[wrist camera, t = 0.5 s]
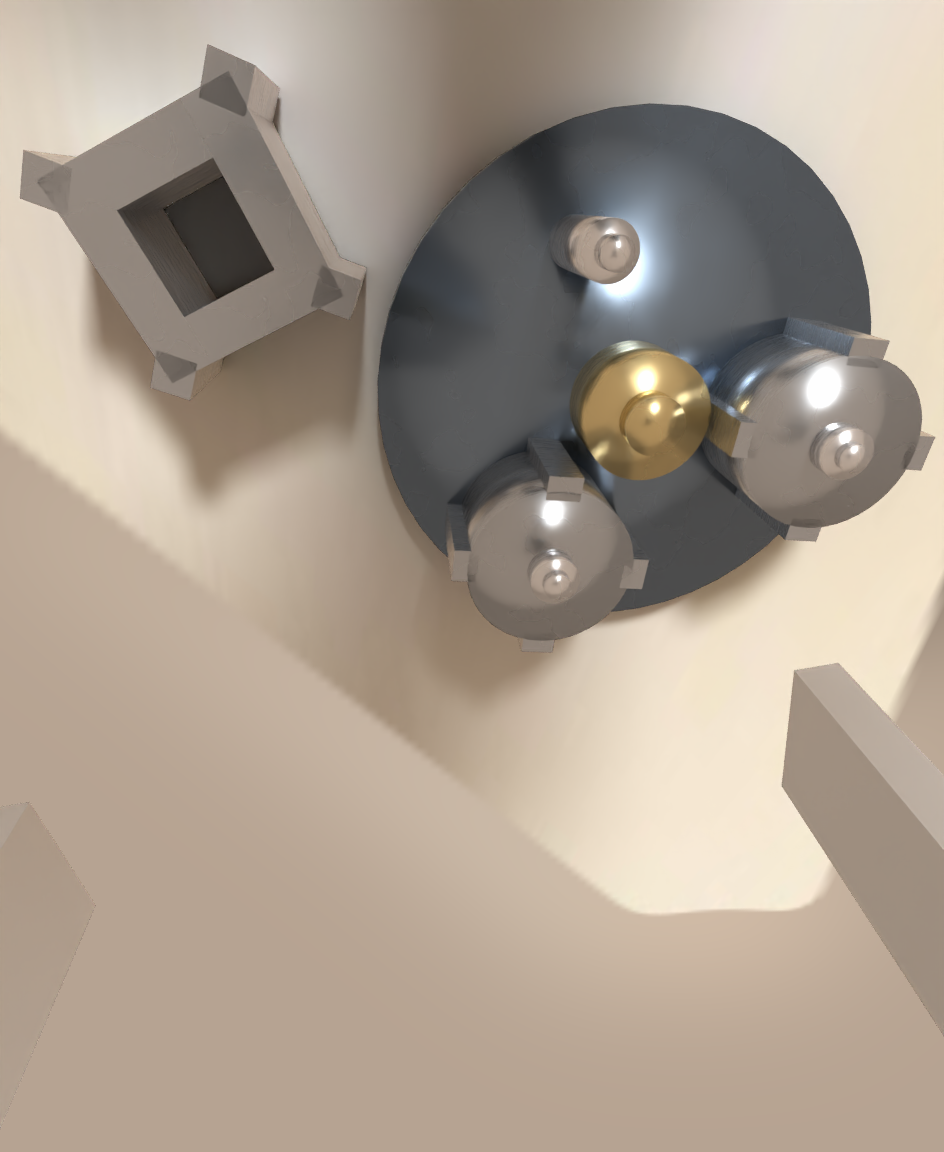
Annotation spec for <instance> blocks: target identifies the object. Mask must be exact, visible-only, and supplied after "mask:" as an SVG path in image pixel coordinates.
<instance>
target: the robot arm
mask: <svg viewBox="0 0 944 1152" xmlns="http://www.w3.org/2000/svg"><path fill="white" fill-rule="evenodd" d="M782 787H783V789H784V790H785V792H786V793H787V795H788V796H789V798H790V800H791V801H792V803H793V804H794V806H795V807H796V809H797V810H798V812H799V813H800V815H801V817H802V818H803V820H804V821H805V823H806V824H807V826H808V827H809V829H810V830H811V832H812V833H813V835H814V837H815V838H816V840H817V841H818V843H819V844H820V846H821V847H822V849H823V850H824V852H825V854H826V855H827V857H828V858H829V860H830V861H831V863H832V864H833V866H834V867H835V869H836V871H837V872H838V874H839V875H840V877H841V878H842V880H843V881H844V883H845V884H846V886H847V887H848V889H849V891H850V892H851V894H852V895H853V897H854V898H855V900H856V901H857V903H858V904H859V906H860V908H861V909H862V911H863V912H864V914H865V915H866V917H867V918H868V920H869V921H870V923H871V924H872V926H873V928H874V929H875V931H876V932H877V934H878V935H879V937H880V938H881V940H882V941H883V943H884V945H885V946H886V948H887V949H888V951H889V952H890V954H891V955H892V957H893V958H894V960H895V962H896V963H897V965H898V966H899V967H900V969H901V971H902V972H903V974H904V975H905V977H906V978H907V980H908V982H909V983H910V985H911V986H912V988H913V989H914V991H915V992H916V994H917V995H918V997H919V999H920V1000H921V1002H922V1003H923V1005H924V1006H925V1008H926V1009H927V1011H928V1012H929V1014H930V1016H931V1017H932V1019H933V1020H934V1022H935V1023H936V1024H937V1026H938V1028H939V1029H940V1031H941V1032H942V1034H943V1036H944V775H943V774H942V773H941V772H940V771H939V770H938V768H937V767H936V766H935V765H934V764H933V763H932V762H931V761H930V760H929V759H928V758H927V757H926V756H925V755H924V754H923V752H922V751H921V750H920V749H919V748H918V747H917V746H916V745H915V744H914V743H913V742H912V741H911V740H910V739H909V738H908V737H907V735H906V734H905V733H904V732H903V731H902V730H901V729H900V728H899V727H898V726H897V725H896V724H895V723H894V722H893V721H892V720H891V718H890V717H889V716H888V715H887V714H886V713H885V712H884V711H883V710H882V709H881V708H880V707H879V706H878V705H877V704H876V702H875V701H874V700H873V699H872V698H871V697H870V696H869V695H868V694H867V693H866V692H865V691H864V690H863V689H862V688H861V687H860V685H859V684H858V683H857V682H856V681H855V680H854V679H853V678H852V677H851V676H850V675H849V674H848V673H847V672H846V671H845V670H844V668H843V667H842V666H841V665H840V664H839V663H834V664H829V665H823V666H817V667H811V668H805V669H799V670H794V677H793V686H792V695H791V705H790V714H789V723H788V732H787V741H786V751H785V760H784V769H783V778H782ZM95 906H96V905H95V903H94V902H93V900H92V899H91V897H90V896H89V894H88V892H87V891H86V889H85V888H84V886H83V885H82V883H81V882H80V880H79V878H78V877H77V875H76V874H75V872H74V871H73V869H72V867H71V866H70V864H69V863H68V861H67V860H66V858H65V857H64V855H63V853H62V852H61V850H60V849H59V847H58V846H57V844H56V843H55V841H54V839H53V838H52V836H51V835H50V833H49V832H48V830H47V829H46V827H45V825H44V824H43V822H42V821H41V819H40V818H39V816H38V815H37V813H36V811H35V810H34V808H33V807H32V805H31V804H30V802H26V803H20V804H15V805H9V806H3V807H0V1128H1V1125H2V1123H3V1121H4V1118H5V1116H6V1114H7V1111H8V1109H9V1107H10V1104H11V1102H12V1100H13V1097H14V1095H15V1093H16V1090H17V1088H18V1086H19V1083H20V1081H21V1079H22V1076H23V1074H24V1072H25V1069H26V1067H27V1065H28V1062H29V1060H30V1058H31V1055H32V1053H33V1050H34V1048H35V1046H36V1044H37V1041H38V1039H39V1037H40V1034H41V1032H42V1030H43V1027H44V1025H45V1023H46V1020H47V1018H48V1016H49V1013H50V1011H51V1008H52V1006H53V1004H54V1002H55V999H56V997H57V995H58V992H59V990H60V988H61V985H62V983H63V981H64V978H65V976H66V974H67V971H68V969H69V967H70V964H71V962H72V959H73V957H74V955H75V953H76V950H77V948H78V945H79V943H80V941H81V939H82V936H83V934H84V932H85V929H86V927H87V925H88V922H89V920H90V918H91V915H92V913H93V911H94V908H95Z"/></svg>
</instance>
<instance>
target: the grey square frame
mask: <svg viewBox="0 0 944 1152" xmlns="http://www.w3.org/2000/svg"><path fill="white" fill-rule="evenodd" d="M279 91H280V88H279V87H278V86H277V85H276V84H274V83H273V82H272V81H271V80H270V79H269V78H268V77H267V76H266V75H265V74H264V73H263V72H262V71H261V70H259V69H258V68H257V67H256V66H255V65H253V64H251V63H249V62H246V61H244V60H242V59H240V58H237V57H235V56H233V55H231V54H228V53H226V52H224V51H222V50H219V49H217V48H215V47H213V46H211V45H207V51H206V57H205V63H204V69H203V75H202V81H201V87H199V88H197V89H196V90H194V91H192V92H190V93H189V94H187V95H185V96H183V97H182V98H180V99H178V100H176V101H174V102H173V103H171V104H169V105H167V106H166V107H164V108H162V109H160V110H159V111H157V112H155V113H153V114H152V115H150V116H148V117H146V118H144V119H143V120H141V121H139V122H137V123H136V124H134V125H132V126H130V127H129V128H127V129H125V130H123V131H122V132H120V133H118V134H116V135H114V136H113V137H111V138H109V139H107V140H106V141H104V142H102V143H100V144H99V145H97V146H95V147H93V148H92V149H90V150H88V151H86V152H84V153H83V154H81V155H79V156H77V157H73V156H65V155H58V154H50V153H42V152H35V151H27V150H23V163H22V176H21V190H20V199H23V200H26V201H29V202H31V203H34V204H37V205H39V206H42V207H45V208H47V209H50V210H53V211H56V212H58V213H59V215H60V216H61V218H62V219H63V221H64V222H65V224H66V225H67V227H68V228H69V230H70V231H71V233H72V234H73V236H74V237H75V239H76V240H77V242H78V243H79V245H80V246H81V248H82V249H83V251H84V252H85V254H86V255H87V257H88V258H89V260H90V261H91V263H92V264H93V266H94V267H95V269H96V270H97V272H98V273H99V275H100V276H101V278H102V279H103V281H104V282H105V284H106V285H107V287H108V288H109V290H110V291H111V293H112V294H113V295H114V297H115V298H116V300H117V301H118V303H119V304H120V306H121V307H122V309H123V310H124V312H125V313H126V315H127V316H128V318H129V319H130V321H131V322H132V324H133V325H134V327H135V328H136V330H137V331H138V333H139V334H140V336H141V337H142V339H143V340H144V342H145V343H146V345H147V346H148V348H149V349H150V351H151V352H152V354H153V355H154V357H155V362H154V368H153V374H152V380H151V386H150V388H153V389H156V390H159V391H162V392H165V393H168V394H171V395H174V396H178V397H181V398H184V399H187V400H191V399H192V398H193V397H194V396H195V395H196V394H197V393H199V392H200V391H201V390H202V389H203V388H204V387H205V386H206V385H207V384H208V383H209V382H210V381H211V380H212V379H213V378H214V377H215V376H216V375H217V374H218V373H219V372H220V371H221V368H222V363H223V358H224V357H225V356H227V355H229V354H231V353H233V352H235V351H237V350H239V349H241V348H243V347H245V346H246V345H248V344H250V343H252V342H254V341H256V340H258V339H260V338H262V337H264V336H266V335H268V334H270V333H272V332H274V331H276V330H278V329H280V328H282V327H284V326H286V325H288V324H290V323H292V322H294V321H296V320H298V319H300V318H301V317H303V316H305V315H307V314H309V313H311V312H313V311H315V310H317V309H321V310H323V311H326V312H329V313H331V314H334V315H337V316H339V317H342V318H345V319H348V320H350V318H351V316H352V313H353V311H354V308H355V306H356V303H357V300H358V297H359V293H360V290H361V286H362V283H363V279H364V276H365V272H366V269H367V268H366V267H363V266H361V265H358V264H356V263H353V262H351V261H348V260H346V259H343V258H340V256H339V254H338V252H337V250H336V248H335V246H334V244H333V242H332V240H331V238H330V236H329V234H328V232H327V230H326V228H325V226H324V224H323V222H322V220H321V218H320V216H319V214H318V212H317V210H316V208H315V206H314V204H313V202H312V200H311V198H310V196H309V194H308V192H307V190H306V188H305V186H304V184H303V182H302V180H301V178H300V176H299V174H298V172H297V170H296V168H295V166H294V164H293V162H292V160H291V158H290V156H289V154H288V152H287V150H286V148H285V146H284V144H283V142H282V140H281V138H280V136H279V134H278V132H277V130H276V128H275V126H274V124H273V119H274V115H275V110H276V105H277V100H278V95H279ZM222 176H223V177H224V178H225V180H226V182H227V184H228V186H229V188H230V189H231V191H232V193H233V195H234V197H235V199H236V200H237V202H238V204H239V206H240V208H241V209H242V211H243V213H244V215H245V217H246V219H247V220H248V222H249V224H250V226H251V228H252V230H253V231H254V233H255V235H256V237H257V239H258V241H259V242H260V244H261V246H262V248H263V250H264V251H265V253H266V255H267V257H268V259H269V261H270V262H271V264H272V266H273V268H274V270H272V271H270V272H268V273H266V274H264V275H263V276H261V277H259V278H257V279H255V280H253V281H251V282H249V283H247V284H245V285H243V286H241V287H240V288H238V289H236V290H234V291H232V292H230V293H228V294H226V295H224V296H222V297H220V298H218V299H217V298H216V296H215V295H214V293H213V291H212V290H211V288H210V286H209V285H208V283H207V281H206V280H205V278H204V276H203V275H202V273H201V271H200V270H199V268H198V266H197V265H196V263H195V261H194V260H193V258H192V256H191V255H190V253H189V251H188V250H187V248H186V246H185V245H184V243H183V241H182V240H181V238H180V236H179V235H178V233H177V231H176V230H175V228H174V226H173V225H172V223H171V221H170V219H169V218H168V216H167V214H166V213H165V211H164V209H163V208H165V207H167V206H169V205H171V204H172V203H174V202H176V201H178V200H180V199H182V198H183V197H185V196H187V195H189V194H191V193H193V192H194V191H196V190H198V189H200V188H202V187H204V186H205V185H207V184H209V183H211V182H213V181H215V180H216V179H218V178H220V177H222Z"/></svg>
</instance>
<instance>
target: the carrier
mask: <svg viewBox="0 0 944 1152" xmlns="http://www.w3.org/2000/svg"><path fill="white" fill-rule="evenodd" d="M888 344H889V341H888V340H885V339H881V338H878V337H875V336H871V314H870V301H869V289H868V284H867V280H866V275H865V271H864V266H863V261H862V257H861V254H860V251H859V249H858V246H857V243H856V241H855V238H854V235H853V233H852V230H851V227H850V225H849V223H848V221H847V220H846V218H845V216H844V214H843V212H842V211H841V209H840V207H839V205H838V204H837V202H836V200H835V198H834V196H833V195H832V194H831V193H830V191H829V190H828V189H827V188H826V186H825V185H824V184H823V182H822V181H821V180H820V179H819V177H818V176H817V175H816V174H815V172H814V171H813V170H812V169H811V168H810V167H809V166H808V165H807V164H806V163H804V162H803V161H802V160H801V159H800V158H799V157H798V156H797V155H796V154H794V153H793V152H792V151H791V150H790V149H789V148H788V147H787V146H785V145H784V144H782V143H780V142H779V141H777V140H776V139H774V138H773V137H771V136H769V135H768V134H766V133H765V132H763V131H761V130H760V129H758V128H757V127H754V126H752V125H749V124H747V123H745V122H742V121H740V120H737V119H735V118H732V117H730V116H728V115H725V114H722V113H718V112H713V111H709V110H704V109H700V108H695V107H691V106H683V105H665V104H642V105H633V106H623V107H614V108H609V109H605V110H601V111H597V112H594V113H590V114H586V115H582V116H579V117H575V118H572V119H570V120H567V121H565V122H563V123H560V124H558V125H556V126H553V127H551V128H549V129H547V130H544V131H542V132H540V133H537V134H535V135H533V136H531V137H529V138H528V139H526V140H525V141H523V142H521V143H520V144H518V145H516V146H515V147H513V148H512V149H510V150H508V151H507V152H505V153H503V154H502V155H500V156H498V157H497V158H496V159H495V160H494V161H492V162H491V163H490V164H489V165H488V166H486V167H485V168H484V169H483V170H481V171H480V172H479V173H478V174H477V175H475V176H474V177H473V178H472V179H471V180H469V181H468V182H467V183H466V184H465V185H464V186H463V188H462V189H461V190H460V191H459V192H458V193H457V194H456V195H455V196H454V197H453V198H452V199H451V201H450V202H449V203H448V204H447V205H446V206H445V207H444V208H443V209H442V210H441V212H440V213H439V215H438V216H437V217H436V219H435V220H434V222H433V223H432V225H431V226H430V227H429V229H428V230H427V232H426V233H425V234H424V236H423V237H422V239H421V240H420V242H419V244H418V246H417V247H416V249H415V251H414V253H413V255H412V257H411V259H410V261H409V262H408V264H407V266H406V268H405V270H404V272H403V274H402V277H401V279H400V282H399V285H398V287H397V290H396V293H395V295H394V298H393V301H392V303H391V306H390V309H389V314H388V318H387V322H386V326H385V331H384V335H383V339H382V345H381V355H380V365H379V374H378V405H379V419H380V425H381V432H382V438H383V444H384V448H385V452H386V455H387V458H388V462H389V465H390V468H391V471H392V475H393V477H394V480H395V482H396V484H397V486H398V488H399V490H400V493H401V495H402V497H403V499H404V501H405V504H406V505H407V507H408V508H409V510H410V511H411V513H412V514H413V516H414V518H415V519H416V521H417V522H418V524H419V525H420V527H421V528H422V530H423V531H424V532H425V533H426V534H427V536H428V537H429V538H430V539H431V540H432V541H433V543H434V544H435V545H436V546H437V547H438V548H439V550H441V551H442V552H443V553H444V554H445V555H446V556H447V557H448V559H449V566H450V573H451V580H452V581H466V582H468V587H469V590H470V594H471V597H472V599H473V601H474V603H475V605H476V607H477V608H478V610H479V611H480V613H481V614H482V615H483V616H484V617H485V618H486V619H487V620H488V621H489V622H490V623H491V624H492V625H494V626H495V627H497V628H498V629H500V630H501V631H503V632H505V633H507V634H510V635H512V636H515V637H518V641H519V644H520V648H521V651H523V652H552V651H553V646H554V640H556V639H562V638H566V637H570V636H572V635H575V634H578V633H580V632H582V631H584V630H587V629H589V628H590V627H592V626H593V625H595V624H597V623H598V622H599V621H601V620H602V619H603V618H604V617H606V616H607V615H608V614H609V613H610V612H613V611H621V610H628V609H636V608H641V607H645V606H649V605H653V604H657V603H661V602H665V601H668V600H671V599H674V598H676V597H679V596H682V595H685V594H687V593H690V592H693V591H695V590H697V589H699V588H701V587H703V586H705V585H707V584H709V583H711V582H713V581H715V580H717V579H719V578H721V577H722V576H724V575H725V574H727V573H729V572H730V571H732V570H734V569H735V568H737V567H738V566H740V565H742V564H743V563H744V562H746V561H747V560H748V559H750V558H751V557H752V556H754V555H755V554H756V553H758V552H759V551H760V550H761V549H763V548H764V547H765V546H766V545H768V544H769V543H770V542H771V541H772V540H773V539H774V538H775V537H776V536H777V535H778V534H779V535H780V536H781V537H783V538H784V539H785V540H797V541H816V540H817V537H818V535H819V532H820V529H821V527H825V526H829V525H834V524H837V523H840V522H843V521H846V520H848V519H850V518H852V517H854V516H857V515H859V514H860V513H862V512H863V511H865V510H867V509H868V508H870V507H871V506H872V505H874V504H875V503H876V502H878V501H879V500H880V499H881V498H882V497H883V496H884V495H886V494H887V493H888V492H889V491H890V489H891V488H892V487H893V486H894V485H895V484H896V483H897V481H898V480H899V479H900V477H901V476H902V475H903V473H904V472H905V470H906V469H908V470H921V469H922V467H923V465H924V462H925V460H926V458H927V455H928V453H929V450H930V448H931V446H932V443H933V441H934V439H935V437H934V436H932V435H930V434H927V433H925V432H923V431H921V424H922V410H921V404H920V399H919V396H918V393H917V391H916V388H915V387H914V385H913V383H912V381H911V380H910V379H909V378H908V376H907V375H906V374H905V373H904V372H903V371H902V370H900V369H899V368H898V367H897V366H895V365H893V364H891V363H890V362H888V361H885V360H883V358H884V355H885V352H886V350H887V347H888Z"/></svg>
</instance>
